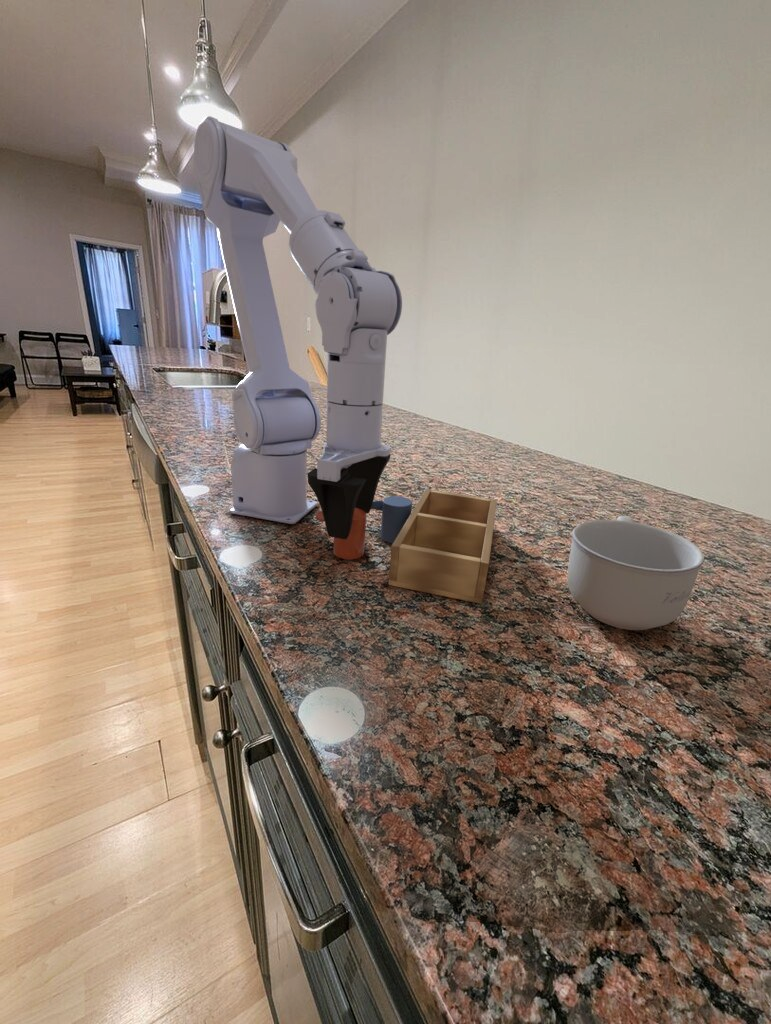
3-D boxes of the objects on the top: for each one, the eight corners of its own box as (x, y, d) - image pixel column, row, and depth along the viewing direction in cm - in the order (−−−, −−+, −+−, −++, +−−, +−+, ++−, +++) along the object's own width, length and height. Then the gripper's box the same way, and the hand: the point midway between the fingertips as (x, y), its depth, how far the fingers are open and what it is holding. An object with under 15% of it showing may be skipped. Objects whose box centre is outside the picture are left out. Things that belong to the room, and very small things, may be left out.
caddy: (388, 584, 46) (391, 545, 44) (422, 519, 63) (425, 488, 61) (481, 604, 44) (489, 563, 42) (491, 531, 61) (497, 499, 59)
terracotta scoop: (309, 552, 52) (309, 512, 50) (321, 539, 55) (322, 501, 53) (358, 562, 50) (360, 521, 48) (368, 548, 53) (370, 510, 52)
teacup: (675, 663, 38) (707, 582, 35) (545, 616, 43) (563, 541, 40) (676, 592, 49) (701, 525, 46) (573, 561, 54) (589, 500, 51)
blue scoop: (358, 537, 56) (360, 500, 54) (367, 526, 59) (369, 491, 57) (405, 546, 55) (408, 508, 53) (411, 534, 58) (414, 498, 56)
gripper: (371, 417, 38) (364, 557, 43) (408, 397, 51) (399, 507, 56) (295, 408, 40) (297, 544, 45) (350, 391, 53) (347, 498, 58)
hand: (350, 523), depth 51 cm, fingers open, 7 cm apart
